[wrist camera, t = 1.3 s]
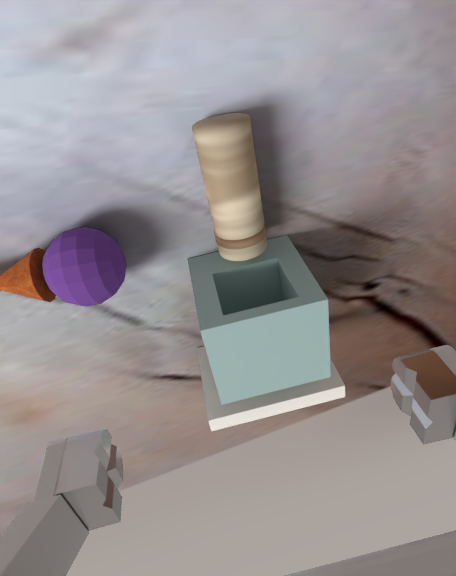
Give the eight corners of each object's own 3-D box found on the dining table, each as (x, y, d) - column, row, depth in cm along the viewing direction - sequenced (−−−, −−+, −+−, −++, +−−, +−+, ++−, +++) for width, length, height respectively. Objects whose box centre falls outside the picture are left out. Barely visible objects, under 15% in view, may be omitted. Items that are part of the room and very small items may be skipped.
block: (187, 258, 35) (200, 330, 27) (287, 234, 36) (327, 299, 28) (206, 326, 40) (221, 404, 32) (293, 304, 40) (330, 376, 32)
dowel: (186, 123, 29) (198, 135, 26) (240, 109, 29) (259, 120, 26) (213, 243, 35) (226, 266, 31) (258, 230, 35) (275, 251, 32)
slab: (196, 348, 41) (208, 420, 34) (309, 319, 42) (344, 385, 35) (199, 358, 42) (211, 431, 35) (310, 330, 43) (344, 396, 35)
